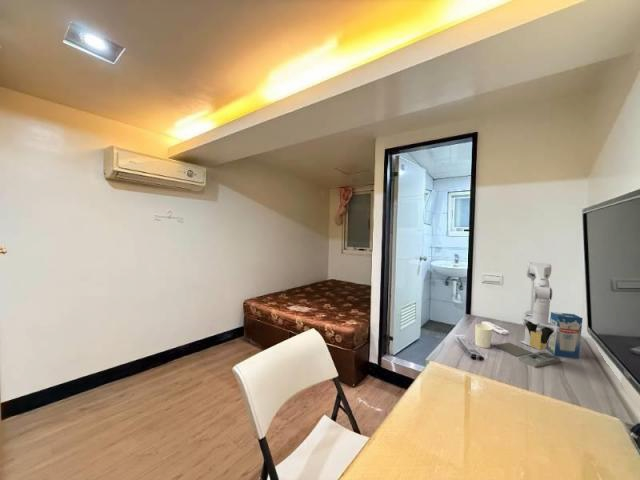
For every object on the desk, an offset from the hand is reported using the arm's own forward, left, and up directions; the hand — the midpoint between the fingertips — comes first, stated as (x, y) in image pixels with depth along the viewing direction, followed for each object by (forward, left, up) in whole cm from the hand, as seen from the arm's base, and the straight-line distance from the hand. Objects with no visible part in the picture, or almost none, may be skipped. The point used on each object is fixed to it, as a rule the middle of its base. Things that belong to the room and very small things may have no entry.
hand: (538, 340), depth 126 cm
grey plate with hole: (-2, 0, -10) cm, 10 cm away
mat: (-1, -12, -10) cm, 15 cm away
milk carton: (-21, -1, -10) cm, 23 cm away
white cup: (+10, -20, -10) cm, 24 cm away
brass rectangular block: (0, 0, -3) cm, 3 cm away
